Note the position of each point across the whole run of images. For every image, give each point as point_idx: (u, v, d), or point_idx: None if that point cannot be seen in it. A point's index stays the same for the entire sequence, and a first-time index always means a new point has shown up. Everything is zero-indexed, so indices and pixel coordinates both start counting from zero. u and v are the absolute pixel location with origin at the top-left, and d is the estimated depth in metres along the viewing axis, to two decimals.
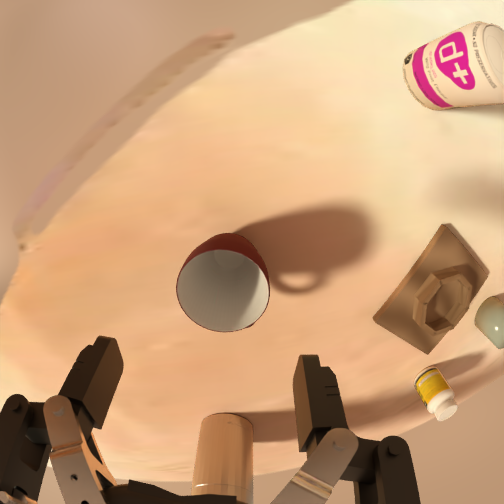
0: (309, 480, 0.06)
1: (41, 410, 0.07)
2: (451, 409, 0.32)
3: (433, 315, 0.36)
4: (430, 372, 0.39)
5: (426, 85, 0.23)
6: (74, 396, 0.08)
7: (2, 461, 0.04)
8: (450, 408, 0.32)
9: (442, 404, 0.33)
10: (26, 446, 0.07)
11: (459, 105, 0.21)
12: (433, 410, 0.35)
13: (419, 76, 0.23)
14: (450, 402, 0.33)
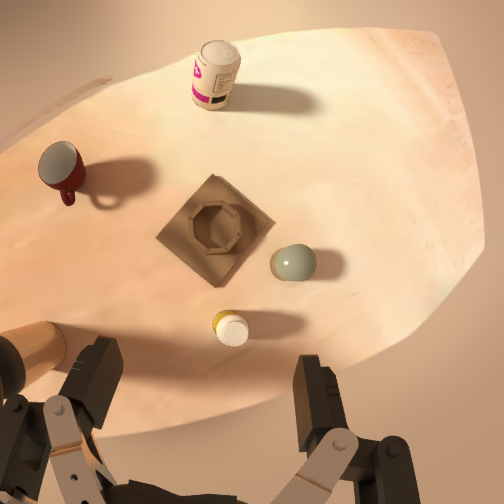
0: (309, 480, 0.06)
1: (41, 410, 0.07)
2: (237, 328, 0.44)
3: (210, 243, 0.52)
4: (225, 311, 0.52)
5: (194, 90, 0.51)
6: (74, 396, 0.08)
7: (2, 461, 0.04)
8: (236, 327, 0.44)
9: (227, 322, 0.45)
10: (26, 446, 0.07)
11: (210, 93, 0.49)
12: (222, 336, 0.45)
13: (192, 87, 0.51)
14: (236, 320, 0.45)
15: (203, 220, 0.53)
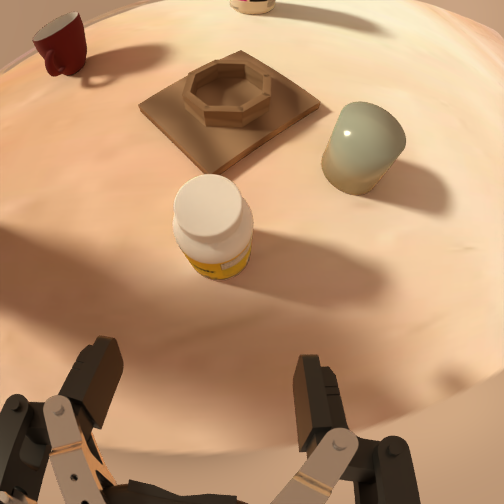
0: (309, 480, 0.06)
1: (41, 410, 0.07)
2: (216, 190, 0.16)
3: None
4: None
5: None
6: (74, 396, 0.08)
7: (2, 461, 0.04)
8: (212, 185, 0.16)
9: None
10: (26, 446, 0.07)
11: None
12: None
13: None
14: None
15: (215, 88, 0.30)
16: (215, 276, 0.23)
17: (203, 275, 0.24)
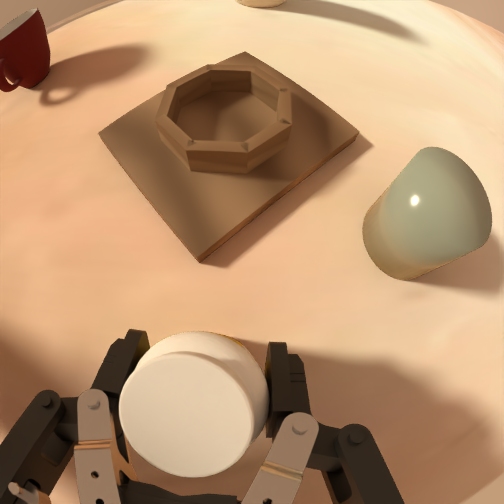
0: (277, 468, 0.06)
1: (73, 405, 0.08)
2: (198, 395, 0.07)
3: None
4: None
5: None
6: (110, 389, 0.09)
7: (20, 454, 0.05)
8: (190, 384, 0.07)
9: None
10: (50, 440, 0.07)
11: None
12: None
13: None
14: (204, 355, 0.08)
15: (206, 107, 0.21)
16: None
17: None
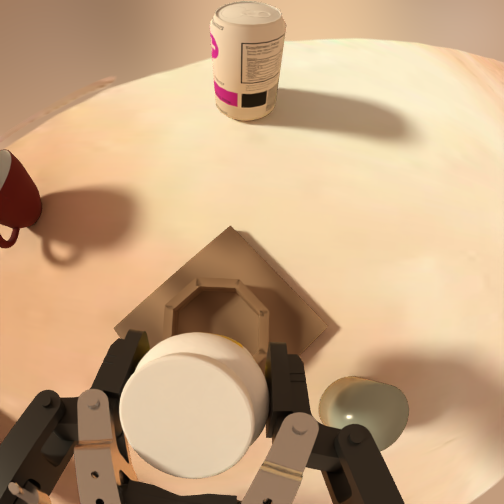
0: (277, 468, 0.06)
1: (73, 405, 0.08)
2: (199, 396, 0.07)
3: None
4: None
5: (215, 85, 0.32)
6: (109, 389, 0.09)
7: (20, 454, 0.05)
8: (190, 385, 0.07)
9: None
10: (51, 440, 0.07)
11: (237, 86, 0.29)
12: None
13: (214, 83, 0.32)
14: (204, 356, 0.08)
15: (200, 312, 0.27)
16: None
17: None
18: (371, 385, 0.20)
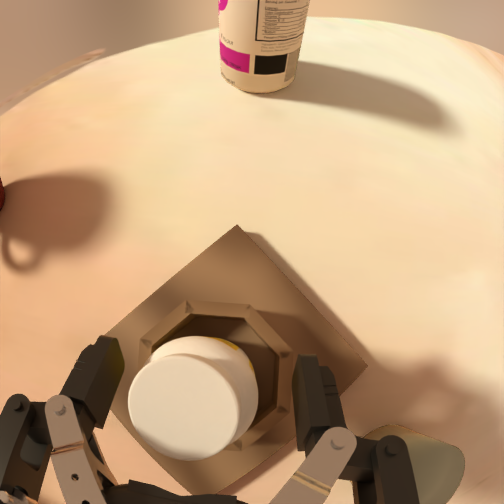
0: (308, 479, 0.06)
1: (42, 410, 0.07)
2: (194, 389, 0.09)
3: None
4: None
5: (221, 47, 0.23)
6: (76, 396, 0.08)
7: (3, 461, 0.04)
8: (187, 380, 0.09)
9: None
10: (27, 446, 0.07)
11: (250, 45, 0.21)
12: None
13: None
14: (200, 356, 0.10)
15: None
16: None
17: None
18: (428, 449, 0.12)
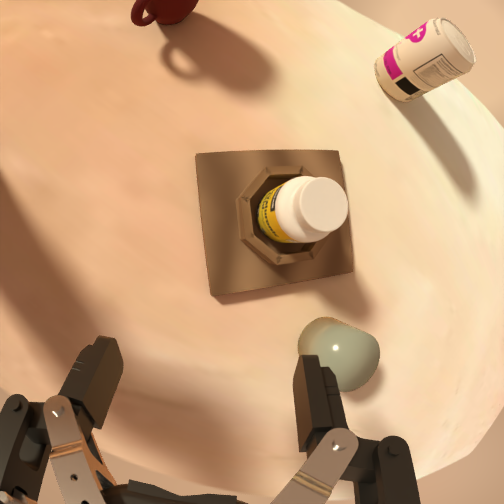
0: (309, 480, 0.06)
1: (41, 410, 0.07)
2: (335, 199, 0.20)
3: (260, 231, 0.29)
4: None
5: (389, 53, 0.29)
6: (74, 396, 0.08)
7: (2, 461, 0.04)
8: (335, 194, 0.20)
9: None
10: (26, 446, 0.07)
11: (407, 70, 0.28)
12: (292, 195, 0.22)
13: (388, 51, 0.30)
14: None
15: None
16: (271, 236, 0.27)
17: (260, 227, 0.28)
18: (367, 333, 0.26)
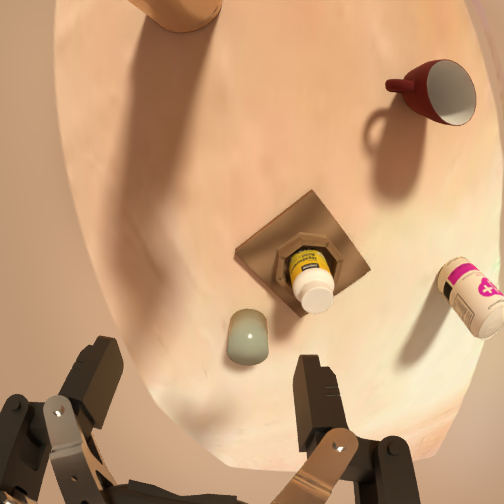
0: (309, 480, 0.06)
1: (41, 410, 0.07)
2: (323, 304, 0.34)
3: (289, 256, 0.42)
4: None
5: (466, 268, 0.39)
6: (74, 396, 0.08)
7: (2, 461, 0.04)
8: (326, 303, 0.34)
9: None
10: (26, 446, 0.07)
11: (457, 289, 0.39)
12: (314, 278, 0.35)
13: (469, 266, 0.39)
14: None
15: None
16: (289, 267, 0.40)
17: (291, 257, 0.41)
18: None
